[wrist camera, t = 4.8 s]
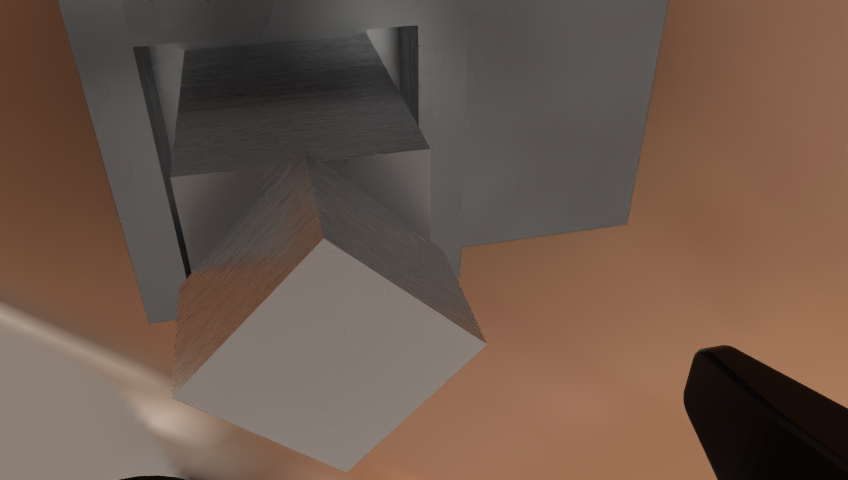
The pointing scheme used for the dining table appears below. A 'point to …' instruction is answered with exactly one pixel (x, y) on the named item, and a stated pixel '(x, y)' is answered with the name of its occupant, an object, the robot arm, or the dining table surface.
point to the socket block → (421, 91)
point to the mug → (153, 478)
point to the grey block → (309, 248)
